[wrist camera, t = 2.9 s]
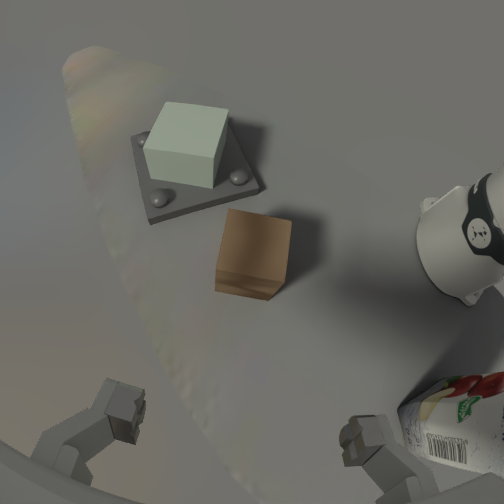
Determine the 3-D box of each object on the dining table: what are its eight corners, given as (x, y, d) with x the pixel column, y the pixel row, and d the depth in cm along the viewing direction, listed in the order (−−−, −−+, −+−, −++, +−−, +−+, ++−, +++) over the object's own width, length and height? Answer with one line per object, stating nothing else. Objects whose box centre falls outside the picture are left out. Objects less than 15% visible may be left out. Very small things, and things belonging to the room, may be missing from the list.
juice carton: (454, 421, 29) (612, 416, 4) (400, 460, 27) (575, 499, 2) (443, 370, 32) (614, 334, 7) (387, 406, 30) (592, 410, 5)
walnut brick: (275, 251, 35) (291, 221, 28) (268, 300, 33) (284, 282, 25) (224, 241, 35) (228, 208, 27) (214, 291, 32) (215, 269, 25)
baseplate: (223, 120, 42) (226, 82, 35) (257, 194, 38) (267, 157, 31) (132, 143, 38) (122, 106, 31) (150, 224, 34) (137, 191, 27)
